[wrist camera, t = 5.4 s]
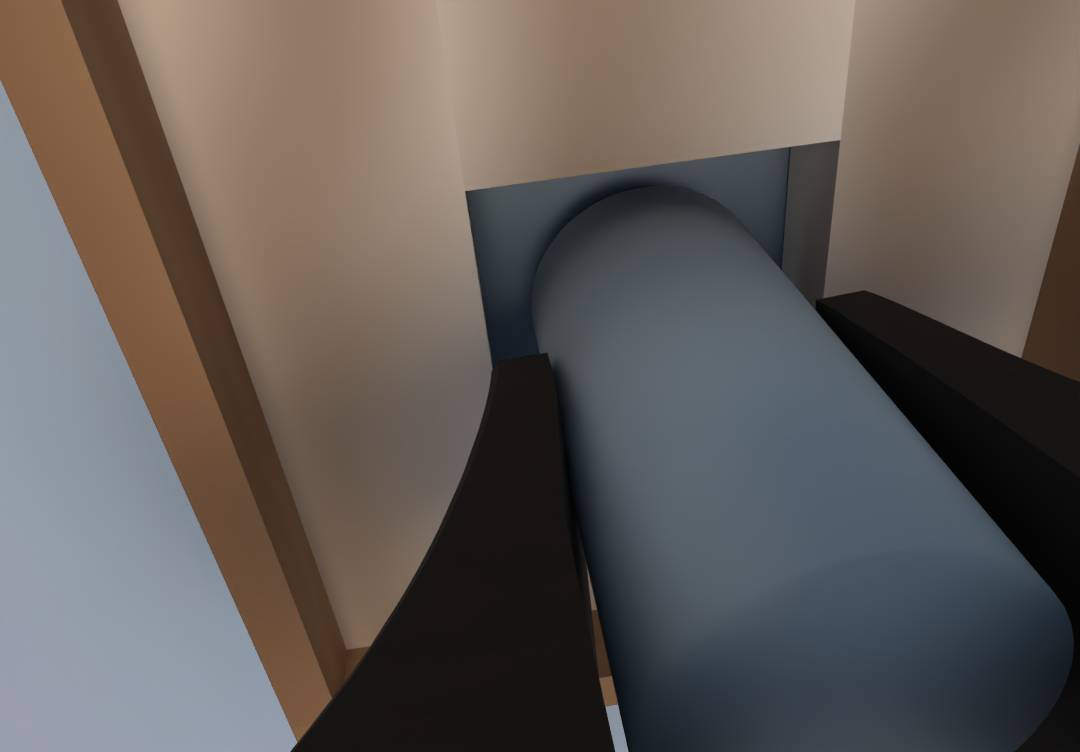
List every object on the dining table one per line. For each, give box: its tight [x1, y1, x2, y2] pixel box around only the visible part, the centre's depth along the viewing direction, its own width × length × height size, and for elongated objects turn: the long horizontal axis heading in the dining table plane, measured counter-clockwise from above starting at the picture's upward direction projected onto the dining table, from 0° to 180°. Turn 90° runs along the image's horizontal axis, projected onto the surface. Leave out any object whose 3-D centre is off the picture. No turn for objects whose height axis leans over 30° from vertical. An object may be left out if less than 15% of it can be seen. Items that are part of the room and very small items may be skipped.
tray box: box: [0, 0, 1080, 742], centre depth 12 cm, size 13×13×3 cm
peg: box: [531, 186, 1074, 752], centre depth 9 cm, size 3×3×7 cm
